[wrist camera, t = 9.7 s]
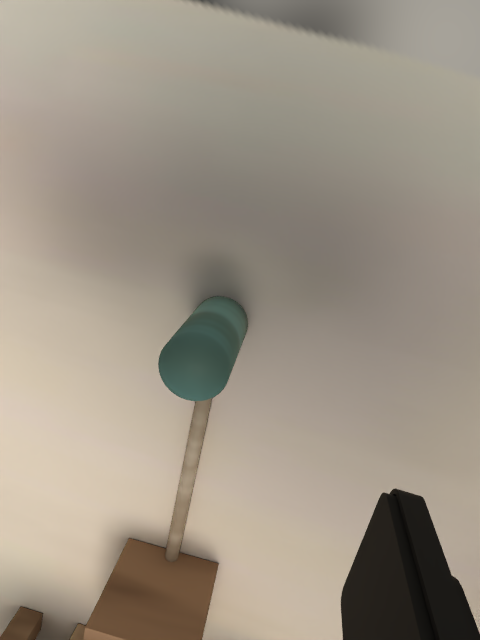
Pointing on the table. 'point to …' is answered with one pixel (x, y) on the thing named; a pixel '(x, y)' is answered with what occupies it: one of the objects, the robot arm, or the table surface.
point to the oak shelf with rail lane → (31, 626)
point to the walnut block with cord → (168, 564)
